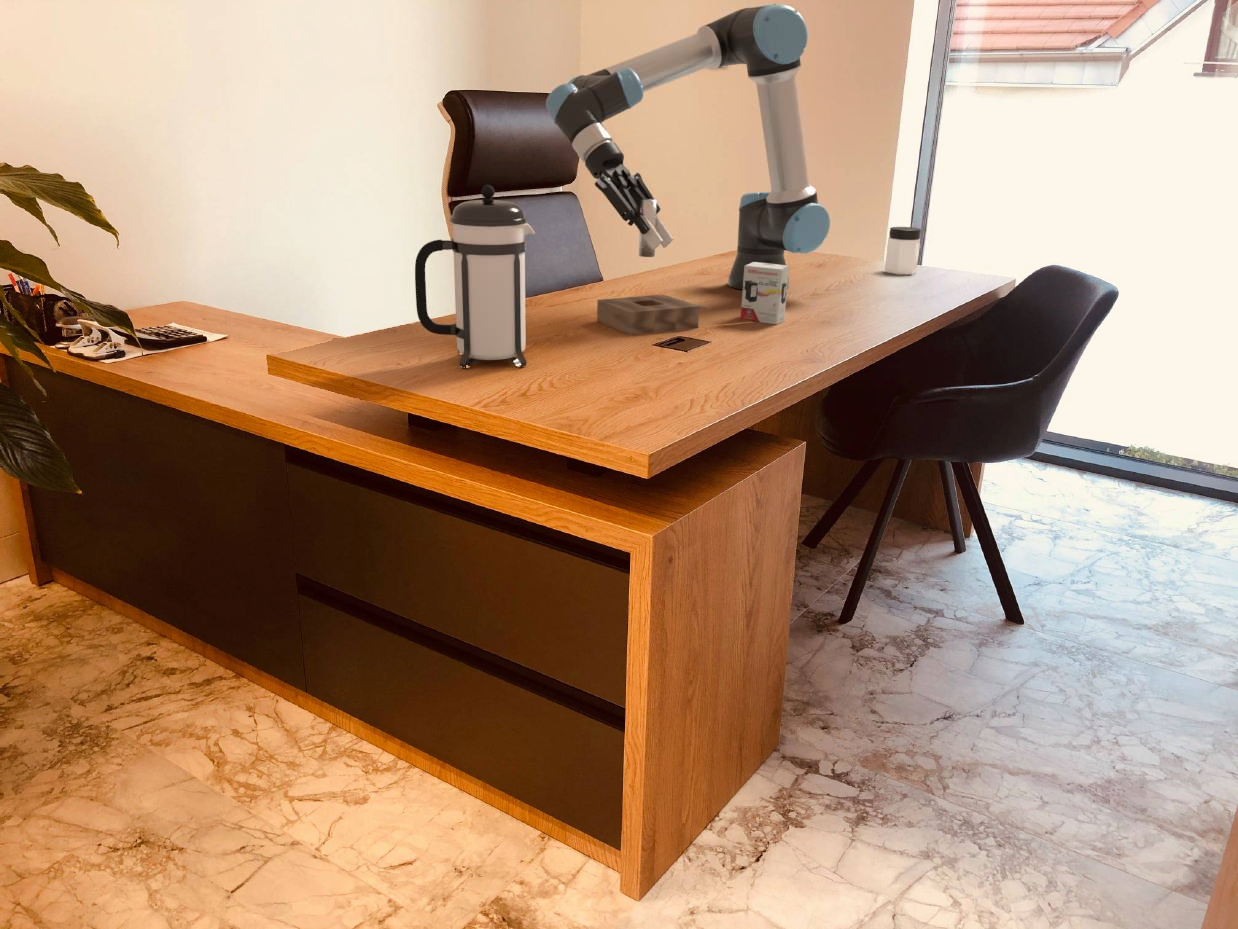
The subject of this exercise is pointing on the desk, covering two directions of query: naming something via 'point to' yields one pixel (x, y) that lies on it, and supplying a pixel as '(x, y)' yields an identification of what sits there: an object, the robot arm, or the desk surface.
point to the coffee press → (483, 280)
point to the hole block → (647, 314)
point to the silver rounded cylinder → (650, 211)
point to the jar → (902, 250)
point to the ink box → (764, 292)
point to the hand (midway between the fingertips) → (663, 244)
